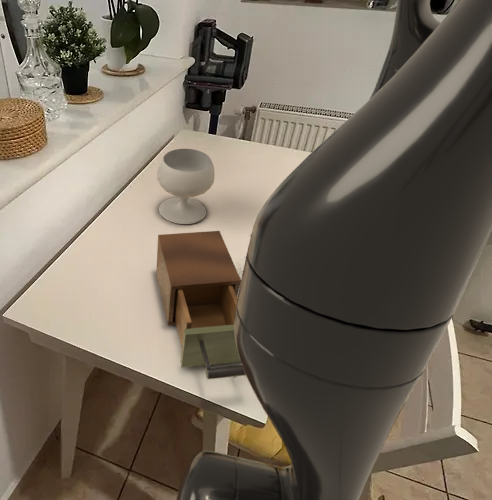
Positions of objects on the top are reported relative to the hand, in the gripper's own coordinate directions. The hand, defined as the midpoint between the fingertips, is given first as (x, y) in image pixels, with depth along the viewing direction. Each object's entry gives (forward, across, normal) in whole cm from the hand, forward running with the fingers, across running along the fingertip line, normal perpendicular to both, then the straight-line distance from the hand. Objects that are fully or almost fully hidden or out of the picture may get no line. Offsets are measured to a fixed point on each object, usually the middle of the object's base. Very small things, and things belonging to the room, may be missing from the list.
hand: (346, 248), depth 57 cm
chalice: (+28, -50, -10) cm, 58 cm away
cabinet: (+28, -20, -14) cm, 37 cm away
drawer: (+27, -6, -14) cm, 31 cm away
